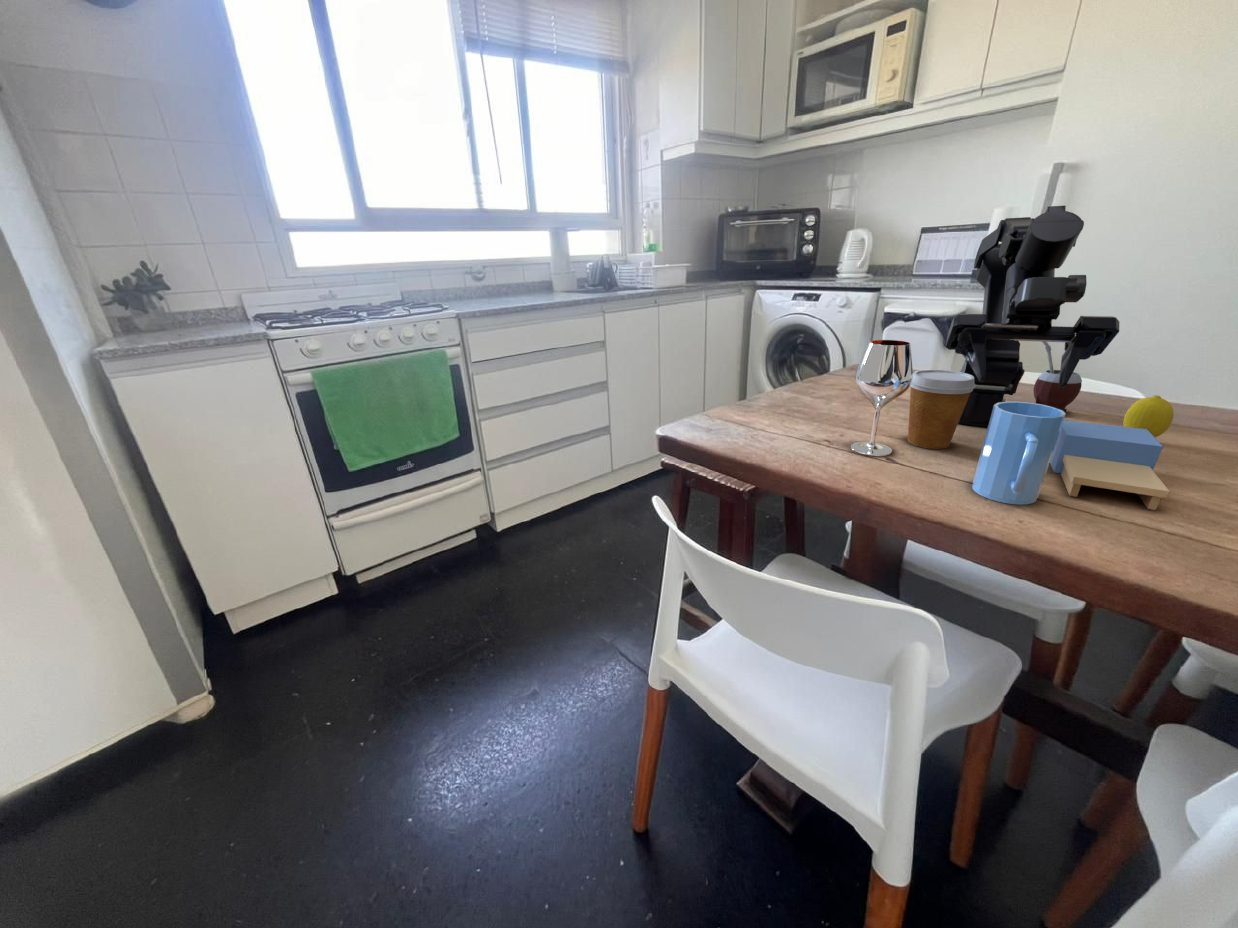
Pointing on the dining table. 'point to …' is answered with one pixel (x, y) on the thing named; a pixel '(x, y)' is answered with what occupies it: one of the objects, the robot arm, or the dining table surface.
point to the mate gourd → (1055, 387)
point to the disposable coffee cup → (937, 406)
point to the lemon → (1150, 415)
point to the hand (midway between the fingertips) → (1021, 383)
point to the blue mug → (1017, 451)
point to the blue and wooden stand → (1109, 460)
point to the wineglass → (882, 383)
